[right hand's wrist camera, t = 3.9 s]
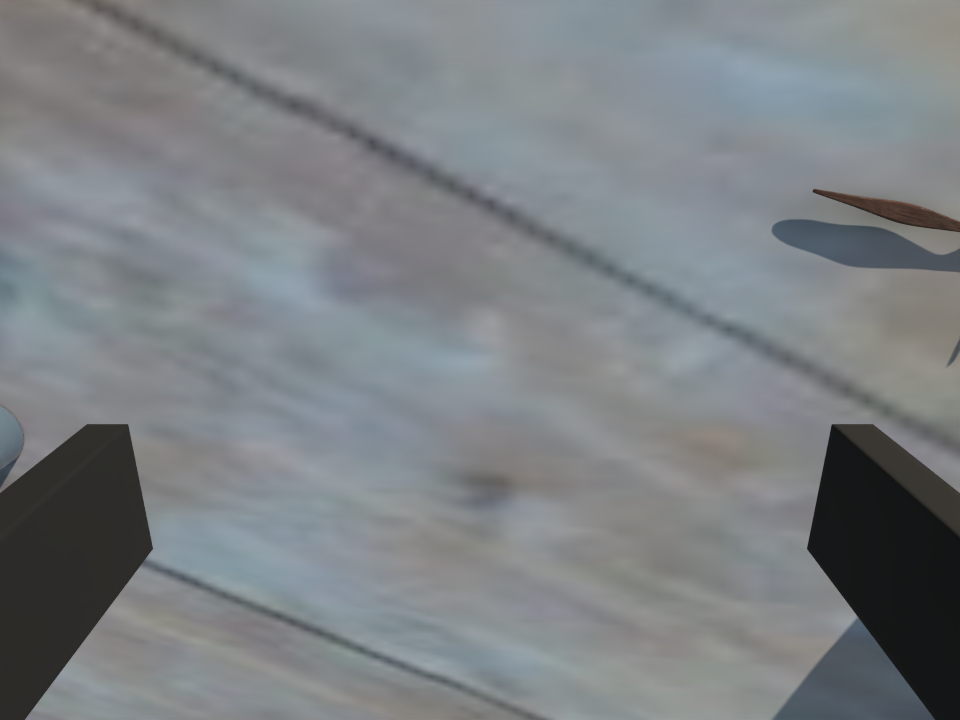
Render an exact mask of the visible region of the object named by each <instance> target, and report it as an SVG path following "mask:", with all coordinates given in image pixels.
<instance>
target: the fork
mask: <svg viewBox="0 0 960 720" xmlns="http://www.w3.org/2000/svg"><path fill="white" fill-rule="evenodd" d="M813 192H814V193H816V194H819V195H822V196H825V197H828V198H831V199H834V200H837V201H839V202H842V203H845V204H848V205H851V206H854V207H856V208H859V209H862V210H864V211H867V212H870V213H872V214H875V215H878V216H880V217H883V218H886V219H888V220H891V221H894V222H898V223H901V224H906V225H911V226H917V227H924V228H932V229H940V230H948V231H956V232H960V222H959V221H956V220H954V219H951V218H949V217H946V216H944V215H941V214H939V213H936V212H934V211H931V210H928V209H926V208H923V207H920V206H917V205H913V204H909V203H904V202H898V201H891V200H883V199H875V198H868V197H861V196H854V195H848V194H841V193H835V192H830V191H824V190H817V189H814V190H813Z"/></svg>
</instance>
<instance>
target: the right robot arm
mask: <svg viewBox="0 0 960 720" xmlns="http://www.w3.org/2000/svg"><path fill="white" fill-rule="evenodd" d="M152 549H153V547H152V542H151V537H150V532H149V527H148V522H147V517H146V512H145V507H144V502H143V497H142V492H141V487H140V482H139V477H138V472H137V467H136V462H135V456H134V451H133V446H132V441H131V436H130V431H129V426H128V424H87V425H86V426H84V427H83V428H82V429H81V430H79V431H78V432H77V433H76V434H74V435H73V436H72V437H70V438H69V439H68V440H67V441H65V442H64V443H63V444H62V445H60V446H59V447H58V448H57V449H55V450H54V451H53V452H52V453H50V454H49V455H48V456H47V457H45V458H44V459H43V460H41V461H40V462H39V463H38V464H36V465H35V466H34V467H33V468H31V469H30V470H29V471H28V472H26V473H25V474H24V475H23V476H21V477H20V478H19V479H17V480H16V481H15V482H14V483H12V484H11V485H10V486H9V487H7V488H6V489H5V490H4V491H2V492H1V493H0V720H25V719H26V717H27V716H28V715H29V713H30V712H31V711H32V709H33V708H34V707H35V705H36V704H37V703H38V701H39V700H40V699H41V697H42V696H43V695H44V693H45V692H46V691H47V689H48V688H49V687H50V685H51V684H52V683H53V681H54V680H55V679H56V677H57V676H58V675H59V673H60V672H61V671H62V669H63V668H64V667H65V665H66V664H67V663H68V661H69V660H70V659H71V657H72V656H73V655H74V653H75V652H76V651H77V649H78V648H79V647H80V645H81V644H82V643H83V641H84V640H85V639H86V637H87V636H88V635H89V633H90V632H91V631H92V629H93V628H94V627H95V625H96V624H97V623H98V621H99V620H100V619H101V617H102V616H103V615H104V613H105V612H106V611H107V609H108V608H109V607H110V605H111V604H112V603H113V601H114V600H115V599H116V597H117V596H118V595H119V593H120V592H121V591H122V589H123V588H124V587H125V585H126V584H127V583H128V581H129V580H130V579H131V577H132V576H133V575H134V573H135V572H136V571H137V569H138V568H139V567H140V565H141V564H142V563H143V561H144V560H145V559H146V557H147V556H148V555H149V553H150V552H151V551H152ZM807 549H808V551H809V552H810V553H811V555H812V556H813V557H814V559H815V560H816V561H817V563H818V564H819V565H820V567H821V568H822V569H823V571H824V572H825V573H826V575H827V576H828V577H829V579H830V580H831V581H832V583H833V584H834V585H835V587H836V588H837V589H838V591H839V592H840V593H841V595H842V596H843V597H844V599H845V600H846V601H847V603H848V604H849V605H850V607H851V608H852V609H853V611H854V612H855V613H856V615H857V616H858V617H859V619H860V620H861V621H862V623H863V624H864V625H865V627H866V628H867V629H868V631H869V632H870V633H871V635H872V636H873V637H874V639H875V640H876V641H877V643H878V644H879V645H880V647H881V648H882V649H883V651H884V652H885V653H886V655H887V656H888V657H889V659H890V660H891V661H892V663H893V664H894V665H895V667H896V668H897V669H898V671H899V672H900V673H901V675H902V676H903V677H904V679H905V680H906V681H907V683H908V684H909V685H910V687H911V688H912V689H913V691H914V692H915V693H916V695H917V696H918V697H919V699H920V700H921V701H922V703H923V704H924V705H925V707H926V708H927V709H928V711H929V712H930V713H931V715H932V716H933V717H934V719H935V720H960V493H959V492H958V491H956V490H955V489H954V488H953V487H951V486H950V485H949V484H948V483H946V482H945V481H944V480H943V479H941V478H940V477H939V476H937V475H936V474H935V473H934V472H932V471H931V470H930V469H929V468H927V467H926V466H925V465H924V464H922V463H921V462H920V461H919V460H917V459H916V458H915V457H913V456H912V455H911V454H910V453H908V452H907V451H906V450H905V449H903V448H902V447H901V446H900V445H898V444H897V443H896V442H895V441H893V440H892V439H891V438H890V437H888V436H887V435H886V434H884V433H883V432H882V431H881V430H879V429H878V428H877V427H876V426H874V425H873V424H832V426H831V431H830V436H829V441H828V446H827V451H826V456H825V462H824V467H823V472H822V477H821V482H820V487H819V492H818V497H817V502H816V507H815V512H814V517H813V522H812V527H811V532H810V537H809V542H808V547H807Z"/></svg>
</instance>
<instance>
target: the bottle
mask: <svg viewBox="0 0 960 720" xmlns="http://www.w3.org/2000/svg"><path fill="white" fill-rule="evenodd" d="M23 445H24V435H23V431H22V428H21V426H20V424H19V422H18V421H17V420H16V418H15V417H14V416H13V415H12V414H11V413H10V412H9V411H8V410H7V409H5V408H4V407H2V406H0V470H1V469H3V468H4V467H6V466H7V465H8V464H10V463H11V462H12V461H14V460H15V459H16V458H17V457H18V456H19V455H20V453H21V451H22V449H23Z"/></svg>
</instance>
